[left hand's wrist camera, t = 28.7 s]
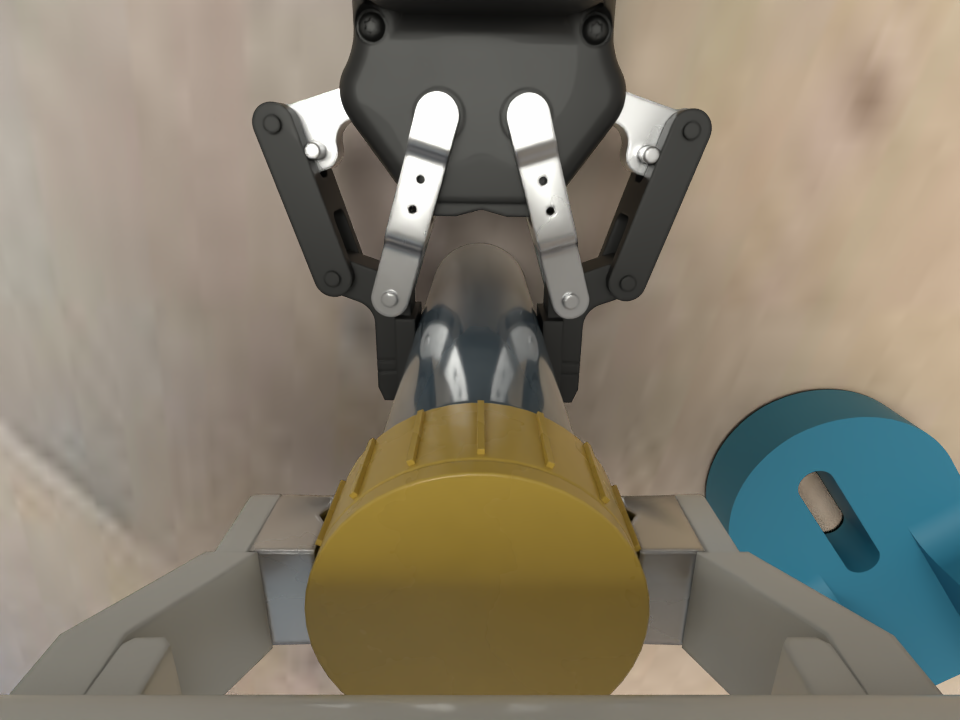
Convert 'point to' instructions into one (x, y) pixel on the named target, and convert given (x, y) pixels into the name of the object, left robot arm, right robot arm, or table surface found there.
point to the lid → (477, 563)
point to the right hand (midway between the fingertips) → (478, 405)
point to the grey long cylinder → (478, 341)
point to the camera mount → (852, 514)
